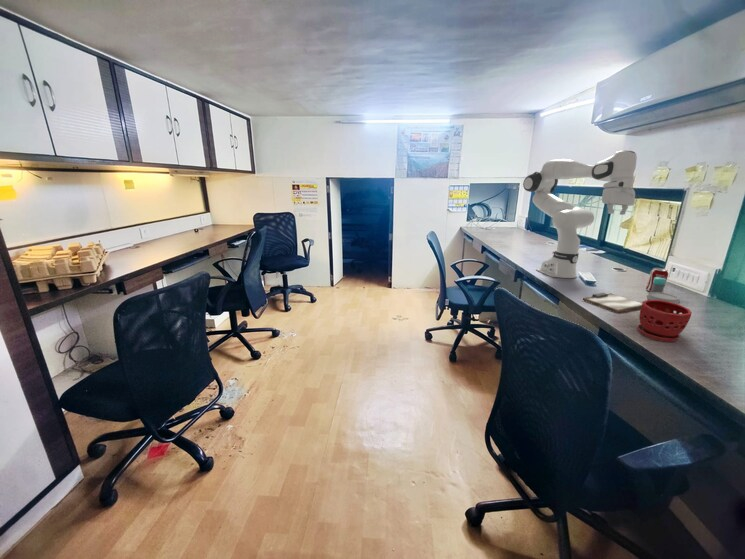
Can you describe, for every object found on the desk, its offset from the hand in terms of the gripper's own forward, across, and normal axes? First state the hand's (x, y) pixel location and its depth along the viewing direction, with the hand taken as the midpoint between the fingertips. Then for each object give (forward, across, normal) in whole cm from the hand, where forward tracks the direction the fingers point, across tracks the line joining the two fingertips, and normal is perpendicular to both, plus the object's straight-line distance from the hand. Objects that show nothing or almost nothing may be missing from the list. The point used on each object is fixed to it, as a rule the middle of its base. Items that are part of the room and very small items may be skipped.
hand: (616, 214), depth 154 cm
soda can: (+38, -24, +10) cm, 46 cm away
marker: (+42, +1, +21) cm, 47 cm away
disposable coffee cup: (+45, +20, +32) cm, 59 cm away
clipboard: (+42, +13, +12) cm, 46 cm away
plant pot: (+47, +32, +38) cm, 69 cm away
